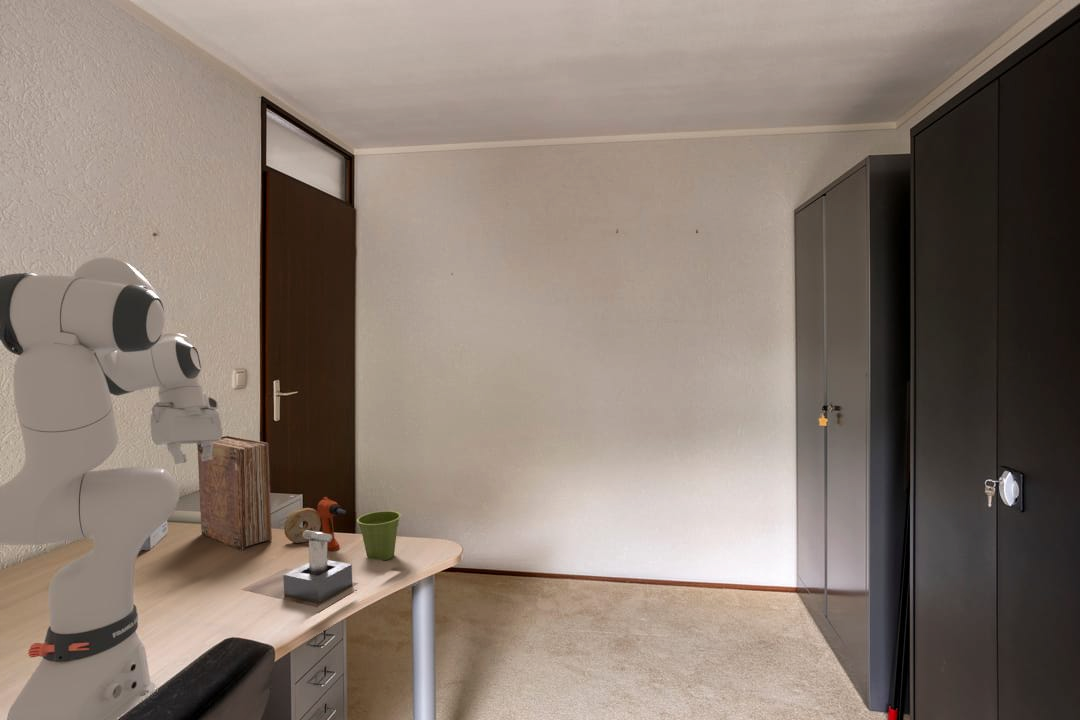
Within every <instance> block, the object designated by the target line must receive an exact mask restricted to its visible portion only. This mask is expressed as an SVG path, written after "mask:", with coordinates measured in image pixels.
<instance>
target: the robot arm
mask: <svg viewBox="0 0 1080 720" xmlns="http://www.w3.org/2000/svg"><path fill="white" fill-rule="evenodd" d="M165 321H166V312H165V307H164V304H163V302H162V299H161V298H160V296H159V294H158V292H157V291H156V290H155V289H154V287H153V286H152V284H150V282H149V281H148V280H147V279H146V277H144V276H143V275H142V274H141V272H139V270H137V269H136V268H135V267H133V266H132V265H130V263H128V262H126V261H125V260H122V259H120V258H119V259H118V258H114V257H109V256H108V257H105V256H104V257H97V258H93V259H90V260H88V261H86V262H84V263H83V264H81V265H80V266H79V267H78V268H77V269H76V270H75V272H74V274H73V275H71V276H70V275H56V274H55V275H53V274H52V275H51V274H49V275H45V274H44V275H43V274H35V273H33V272H32V273H31V272H24V273H10V274H5V275H1V276H0V341H1V343H2V346H4V348H5V349H6V350H7V351H8V352H9V353H12V354H14V355H17V356H18V357H17V358H16V360H15V362H14V364H13V365H14V366H13V397H14V404H15V411H16V414H17V418H18V422H19V425H20V430H21V434H22V439H23V447H24V453H25V459H24V460H25V461H24V462H23V466H22V468H21V469H20V471H19V472H18V473H17V474H15V476H13V478H11V479H10V480H8V481H7V482H5V483H3V484H1V485H0V545H2V546H4V545H6V546H40V545H42V546H43V545H47V544H49V545H50V544H55V543H61V542H68V541H75V540H76V541H77V540H83V539H92V540H93V548H92V549H91V550H89V551H88V552H87V553H84V554H83V555H81V556H79V557H78V558H76V559H74V560H72V561H70V562H68V563H67V564H66V565H63V567H61V568H60V569H59V570H58V571H57V572H56V573H55V574H54V575H53V577H52V578H51V580H50V582H49V585H48V588H47V589H48V604H49V605H48V606H49V609H48V610H49V623H50V624H49V626H48V628H47V630H46V635H45V637H44V642H43V643H41V642H34V643H32V644H31V645H30V647H29V649H28V653H27V654H28V657H30V658H36V657H42V658H41V660H40V662H39V663H38V665H37V666H36V668H35V670H33V672H32V674H31V676H30V678H28V679H27V682H26V684H25V685H24V687H23V688H22V689H21V691H20V692H19V694H18V695H17V696H16V699H15V700H14V701H13V703H12V705H11V706H10V707H9V710H8V712H7V718H6V720H117V718H118V717H120V716H121V715H122V714H124V713H125V712H127V711H128V710H130V709H131V708H132V707H134V706H135V705H136V704H137V703H139V702H140V701H142V700H143V699H144V698H146V697H147V696H148V695H149V694H151V693H152V692H153V691H154V690H156V689H157V690H158V688H157V685H156V684H154V683H152V682H151V678H150V672H149V665H148V659H147V653H146V648H145V645H144V644H143V643H142V642H141V639H140V638H139V636H138V633H137V629H138V627H139V625H138V620H139V613H138V609H137V606H136V605H135V604H134V575H135V574H134V572H135V565H136V562H137V558H138V555H139V553H140V552H141V551H140V549H141V547H142V546H143V544H144V542H145V541H146V540H147V538H148V537H149V536H150V535H151V534H152V533H153V532H154V531H155V530H156V529H157V528H158V527H159V526H160V525H162V524H163V523H164V522H166V521H167V522H168V520H169V519H170V518H171V517H172V515H173V514H174V512H175V511H176V509H177V507H178V503H179V500H180V488H179V485H178V482H177V480H176V478H175V477H174V475H172V474H171V472H170V471H168V470H167V469H165V468H162V467H161V468H159V467H149V466H148V467H146V466H145V467H144V466H142V467H141V466H128V467H118V468H109V469H101V470H100V469H99V470H94V469H95V468H98V467H100V465H102V464H103V463H104V462H105V461H106V460H107V459H108V458H109V457H111V455H112V454H113V453H114V452H115V450H116V448H117V446H118V441H119V436H118V430H117V423H116V419H115V413H114V407H113V401H112V396H111V395H113V396H118V397H119V396H123V395H126V394H129V393H133V392H134V393H135V391H136V392H137V391H142V390H148V389H152V388H153V389H154V388H157V387H158V392H157V393H158V400H159V401H158V402H157V401H156V402H155V403H154V404H153V406H152V408H151V415H150V433H151V434H150V435H151V440H152V442H153V443H154V445H156V446H164V445H165V446H166V447H167V450H168V451H169V453H170V455H171V456H172V457H173V460H174V464H175V465H180V464H184V463H187V456H186V454H184V453H183V451H182V449H181V448H182V445H185V444H187V445H189V444H197V443H201V447H203V453H202V454H201V460H202V461H209V460H212V453H211V452H212V449H213V442H214V441H217V440H220V439H221V438H222V437H223V426H222V422H221V417H220V414H219V412H218V410H217V409H219V402H218V401H217V399H214V398H213V397H211V396H210V395H208V393H206V392H204V387H203V384H202V383H201V382H200V372H201V370H202V365H201V360H200V356H199V351H198V350H197V348H196V347H195V346H193V344H192V342H191V339H190V338H189V336H187V335H185V334H182V333H176V332H174V333H171V332H170V333H165V334H163V330H164V328H165Z"/></svg>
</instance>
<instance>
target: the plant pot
mask: <svg viewBox="0 0 1080 720" xmlns="http://www.w3.org/2000/svg"><path fill="white" fill-rule="evenodd" d="M401 517H402V514H401V513H400V512H398V511H393V510H381V511H380V510H379V511H373V512H368V513H365V514H362V515H360V516H359V517H358V518H357V519H356V523H358V525H359V529H360V531H361V536H362V539H363V540H362V541H363V544H364V549H365V552H366V558H367V559H371V560H377V561H383V562H384V561H389V560H390V559H392V558H393V556H395V551H396V550H395V549H396V543H397V533H398V532H397V531H398V527H399V522H400V519H401Z"/></svg>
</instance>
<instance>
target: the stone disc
mask: <svg viewBox="0 0 1080 720" xmlns="http://www.w3.org/2000/svg"><path fill="white" fill-rule="evenodd" d="M303 522H305V524H304V525H303V526H302V527H301V526H300V525H301V524H302V523H303ZM321 526H322V521H321V517H320V516H319V515H318V511H317V510H316V509H315V508H310V507H304V508H299V509H295V510H293V511H291V512H290V513H289V514H288V516H287V518H286V520H285V521H284V535H285V537H286V539H288V540H289V541H290V542H292V543H294V544H296V543H297V544H299V543H300V544H301V543H302V544H303V543H306V542H309V540H310V539H308V538H304V537H303V532H304V531H306V530H309V531H315V532H320V529H321Z"/></svg>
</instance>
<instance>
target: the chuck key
mask: <svg viewBox="0 0 1080 720" xmlns="http://www.w3.org/2000/svg"><path fill="white" fill-rule="evenodd" d="M303 537H304V538H308V539H310V540H309V541H308V563H309V574H311V575H316V576H319V575H321V574H323V573H325V572H327V571H328V564H327V560H328V551H327V542H331V540H332V535H331V534H326V533H322V532H320V531H318V532H315V531H309V530H306V531H304V532H303Z"/></svg>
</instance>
